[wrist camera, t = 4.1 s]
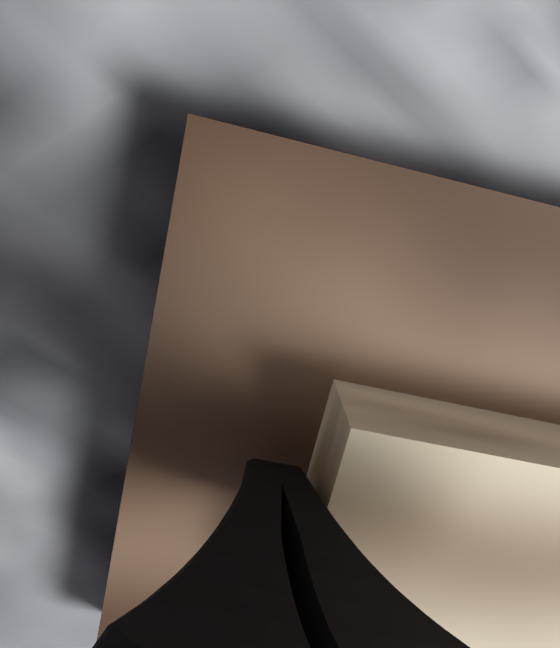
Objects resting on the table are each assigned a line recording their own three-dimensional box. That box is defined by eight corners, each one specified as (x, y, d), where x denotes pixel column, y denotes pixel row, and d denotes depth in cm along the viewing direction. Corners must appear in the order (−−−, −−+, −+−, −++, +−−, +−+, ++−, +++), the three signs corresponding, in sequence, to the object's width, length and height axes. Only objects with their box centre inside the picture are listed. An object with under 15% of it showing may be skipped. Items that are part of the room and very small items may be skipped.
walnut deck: (471, 669, 19) (502, 742, 17) (112, 615, 18) (89, 686, 15) (660, 238, 15) (739, 252, 12) (201, 123, 13) (188, 113, 11)
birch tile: (577, 625, 15) (637, 710, 13) (277, 577, 14) (282, 659, 12) (664, 446, 14) (751, 505, 11) (333, 379, 13) (351, 428, 10)
